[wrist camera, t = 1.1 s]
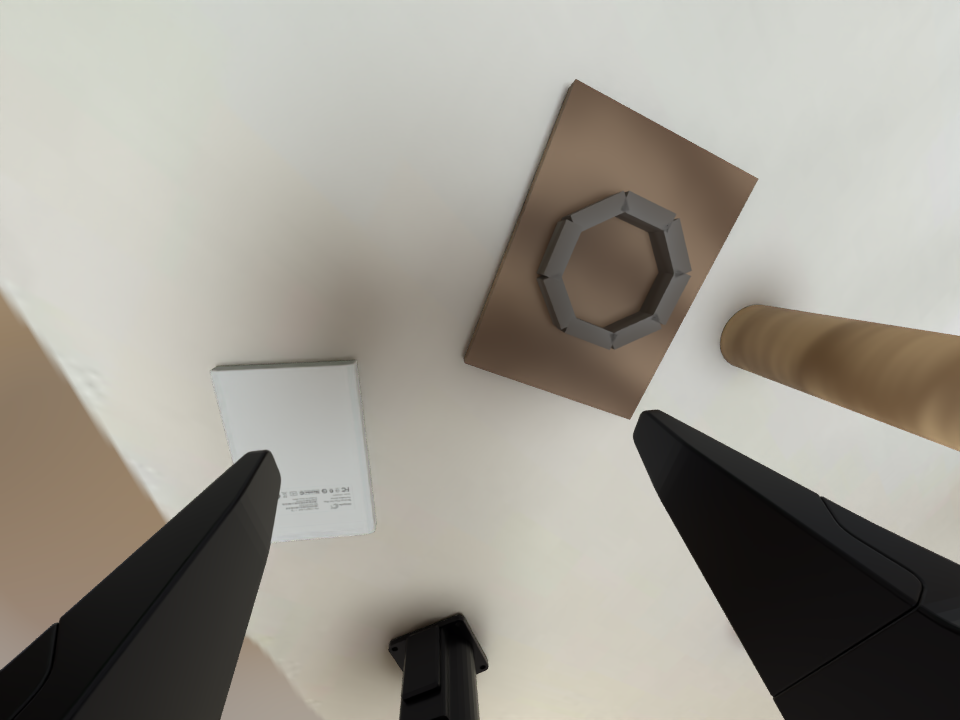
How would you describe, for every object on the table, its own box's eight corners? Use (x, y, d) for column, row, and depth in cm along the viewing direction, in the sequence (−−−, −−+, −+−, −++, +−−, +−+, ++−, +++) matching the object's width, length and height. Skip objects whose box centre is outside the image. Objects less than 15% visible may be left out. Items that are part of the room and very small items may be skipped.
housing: (622, 413, 25) (641, 430, 22) (463, 358, 22) (466, 370, 20) (744, 182, 21) (782, 173, 19) (569, 87, 19) (587, 63, 16)
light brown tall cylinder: (783, 353, 25) (1075, 438, 13) (725, 376, 25) (966, 480, 13) (777, 294, 23) (1095, 332, 12) (715, 319, 24) (974, 380, 12)
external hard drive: (359, 357, 22) (378, 518, 26) (223, 363, 22) (261, 528, 25) (353, 364, 21) (374, 535, 24) (205, 371, 20) (249, 546, 24)
